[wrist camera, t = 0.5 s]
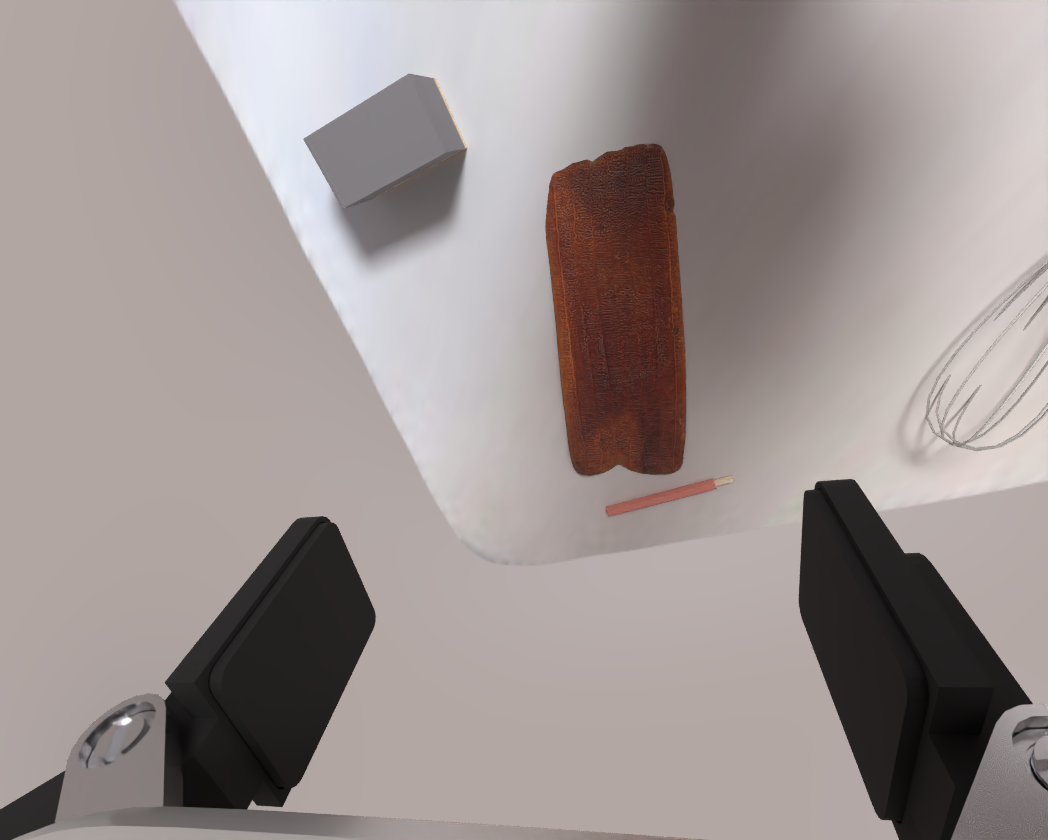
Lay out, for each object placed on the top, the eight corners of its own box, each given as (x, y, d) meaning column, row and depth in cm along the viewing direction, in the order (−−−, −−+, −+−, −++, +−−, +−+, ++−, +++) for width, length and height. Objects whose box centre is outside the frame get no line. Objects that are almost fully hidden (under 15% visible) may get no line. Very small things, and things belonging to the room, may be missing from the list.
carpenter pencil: (606, 506, 51) (606, 510, 50) (731, 473, 47) (732, 477, 47) (608, 511, 51) (608, 516, 51) (733, 479, 48) (734, 484, 47)
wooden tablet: (685, 467, 48) (687, 478, 47) (573, 471, 50) (572, 482, 49) (685, 135, 36) (688, 136, 34) (536, 157, 38) (533, 159, 36)
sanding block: (342, 135, 38) (303, 139, 34) (436, 78, 36) (408, 73, 31) (375, 197, 40) (342, 208, 36) (467, 147, 38) (446, 152, 33)
